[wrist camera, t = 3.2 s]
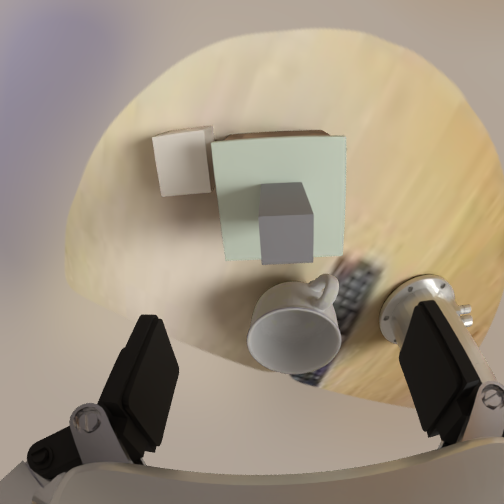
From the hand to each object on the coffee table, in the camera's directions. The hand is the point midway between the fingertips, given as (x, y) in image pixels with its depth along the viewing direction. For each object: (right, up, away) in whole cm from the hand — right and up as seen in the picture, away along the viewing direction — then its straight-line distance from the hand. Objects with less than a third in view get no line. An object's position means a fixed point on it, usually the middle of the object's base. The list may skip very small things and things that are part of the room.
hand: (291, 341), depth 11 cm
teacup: (+5, -2, +29) cm, 30 cm away
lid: (+1, +8, +14) cm, 16 cm away
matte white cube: (-8, +14, +21) cm, 26 cm away
